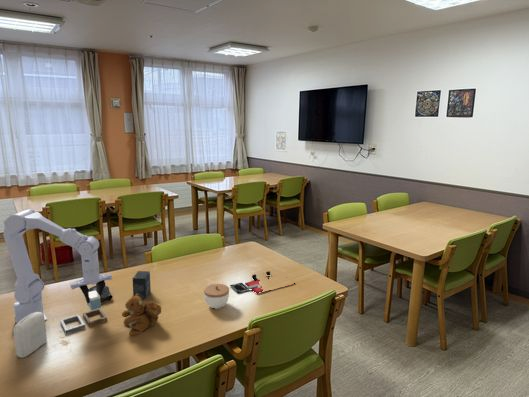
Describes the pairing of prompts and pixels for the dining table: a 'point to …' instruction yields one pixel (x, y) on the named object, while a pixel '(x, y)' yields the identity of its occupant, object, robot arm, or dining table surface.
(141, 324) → the stuffed squirrel
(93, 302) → the plug
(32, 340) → the photo printer
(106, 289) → the electronic device
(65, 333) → the gray square tray
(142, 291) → the box
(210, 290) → the lidded jar
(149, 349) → the dining table surface
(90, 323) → the brown square frame
